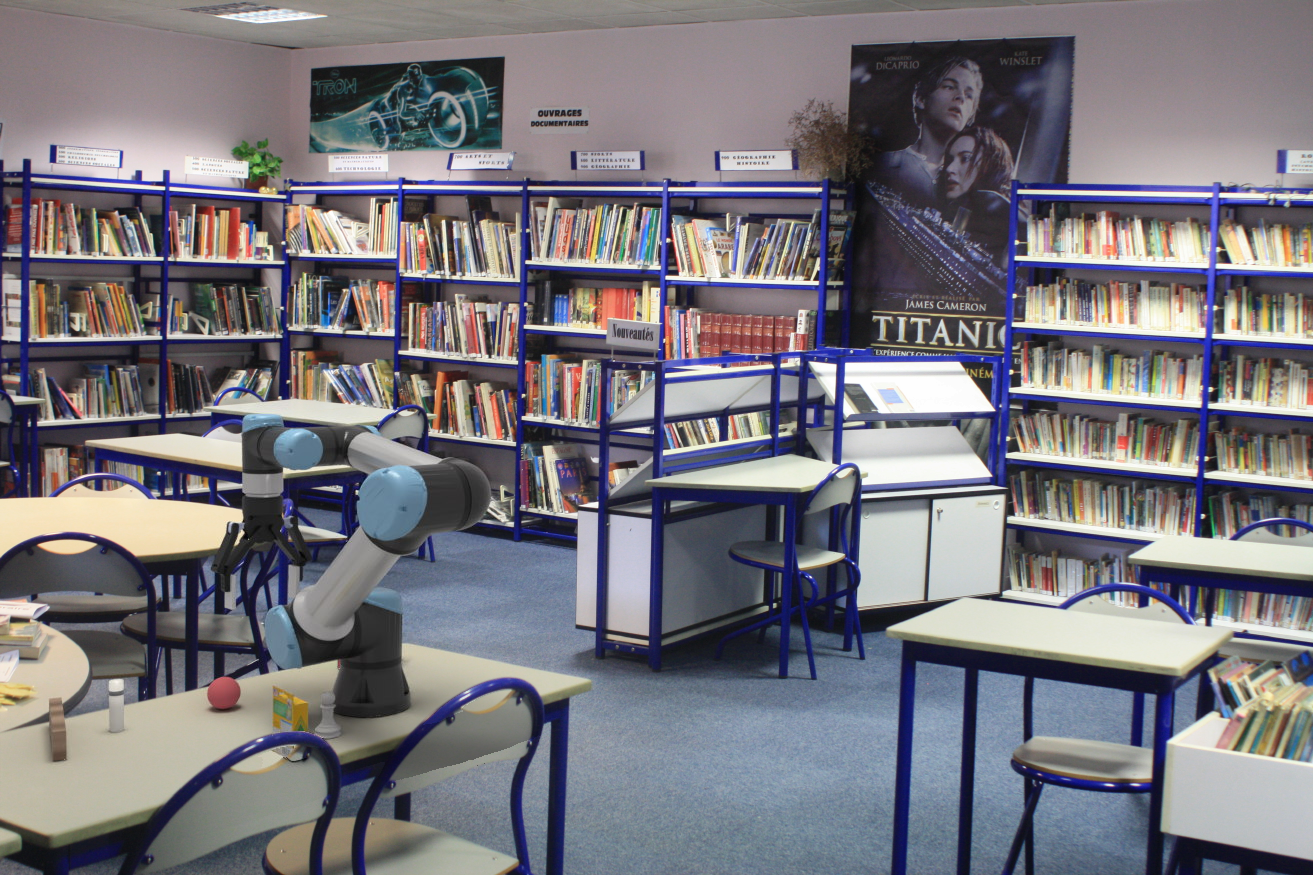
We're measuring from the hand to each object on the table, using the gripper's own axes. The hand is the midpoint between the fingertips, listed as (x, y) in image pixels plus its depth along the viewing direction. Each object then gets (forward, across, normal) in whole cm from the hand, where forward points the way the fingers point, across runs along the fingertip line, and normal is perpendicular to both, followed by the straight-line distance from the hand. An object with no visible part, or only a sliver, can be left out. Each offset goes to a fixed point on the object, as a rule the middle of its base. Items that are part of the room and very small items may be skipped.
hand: (262, 603), depth 236 cm
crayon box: (+20, +13, +31) cm, 39 cm away
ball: (+16, +8, 0) cm, 18 cm away
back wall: (+19, +38, -2) cm, 43 cm away
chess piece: (+20, +2, +26) cm, 33 cm away
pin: (+19, +28, -1) cm, 34 cm away
